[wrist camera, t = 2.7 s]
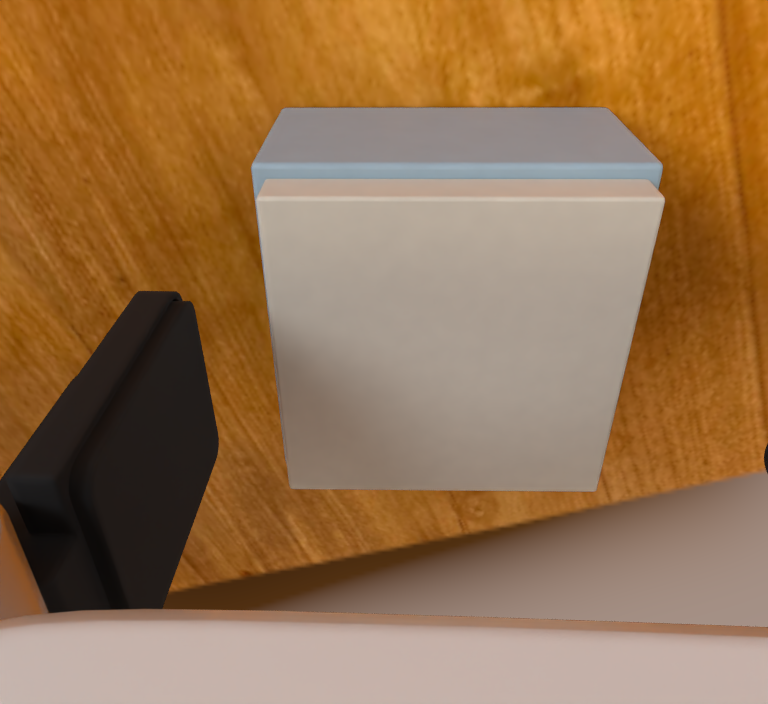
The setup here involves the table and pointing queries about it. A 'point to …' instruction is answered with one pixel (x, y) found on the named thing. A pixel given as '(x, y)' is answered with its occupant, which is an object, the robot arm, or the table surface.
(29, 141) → the table surface
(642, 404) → the table surface
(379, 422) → the upper pad
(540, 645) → the robot arm
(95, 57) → the table surface
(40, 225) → the table surface
